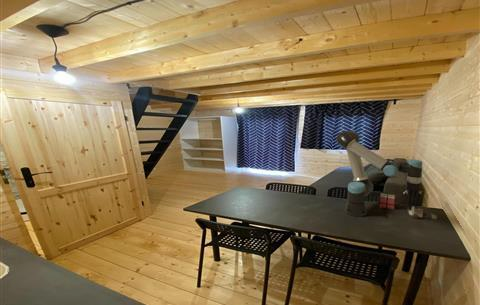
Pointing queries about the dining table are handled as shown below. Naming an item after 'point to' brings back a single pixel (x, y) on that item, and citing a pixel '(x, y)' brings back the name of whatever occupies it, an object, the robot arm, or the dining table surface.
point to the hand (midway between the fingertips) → (411, 214)
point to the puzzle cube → (387, 201)
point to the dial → (418, 212)
